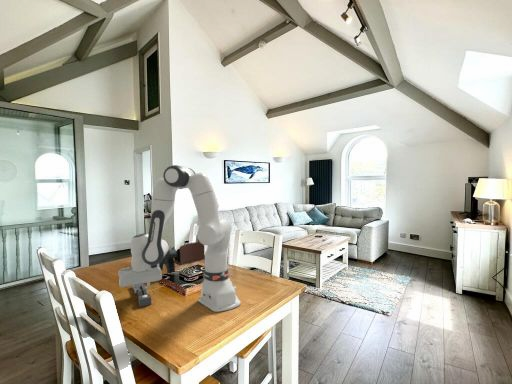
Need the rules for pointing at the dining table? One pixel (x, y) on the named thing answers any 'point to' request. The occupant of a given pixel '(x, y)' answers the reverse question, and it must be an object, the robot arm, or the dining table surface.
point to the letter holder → (190, 253)
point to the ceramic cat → (169, 260)
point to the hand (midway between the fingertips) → (141, 291)
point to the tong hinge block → (144, 300)
